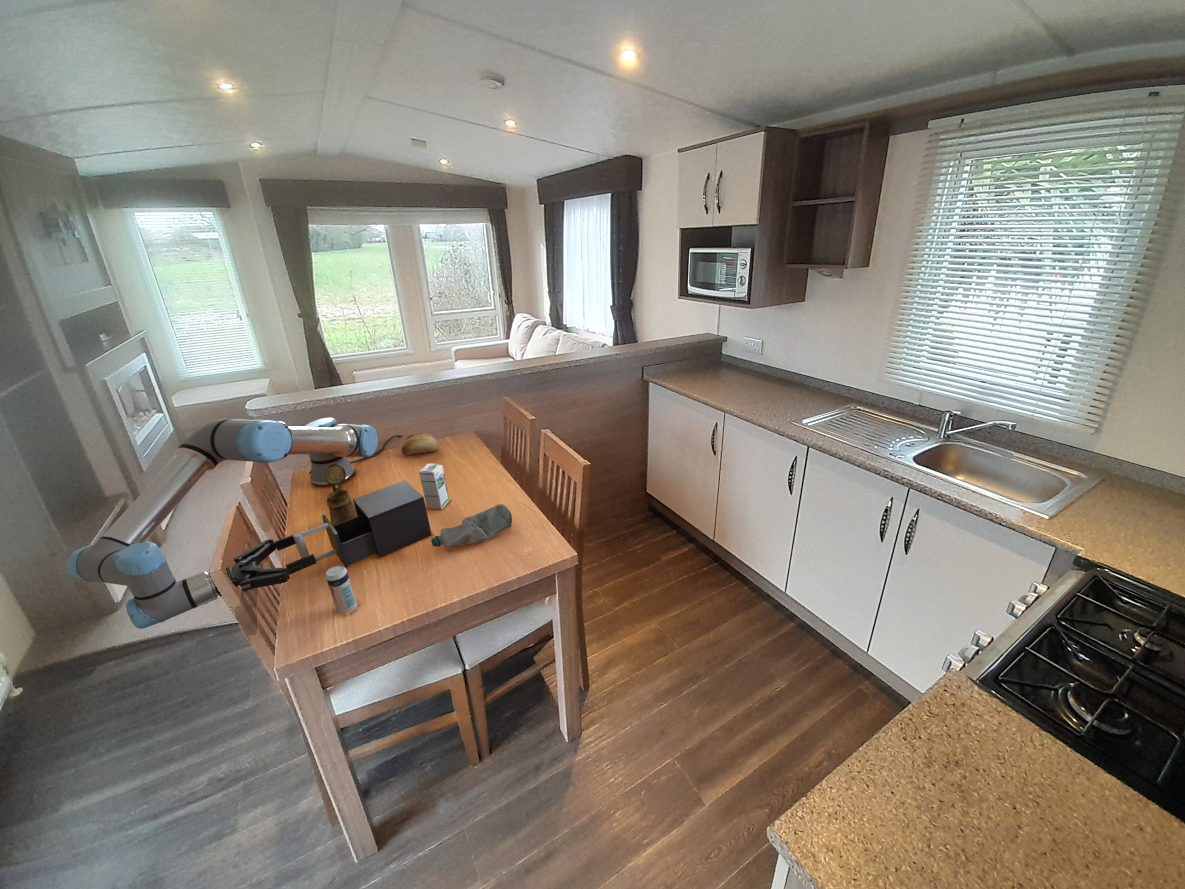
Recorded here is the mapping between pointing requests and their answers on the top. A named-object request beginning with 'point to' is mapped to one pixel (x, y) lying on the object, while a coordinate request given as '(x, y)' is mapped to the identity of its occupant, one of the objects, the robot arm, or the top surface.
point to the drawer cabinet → (394, 516)
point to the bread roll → (419, 444)
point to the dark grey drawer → (343, 540)
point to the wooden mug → (338, 496)
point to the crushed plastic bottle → (475, 528)
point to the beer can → (341, 589)
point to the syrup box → (434, 486)
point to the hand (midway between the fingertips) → (308, 547)
